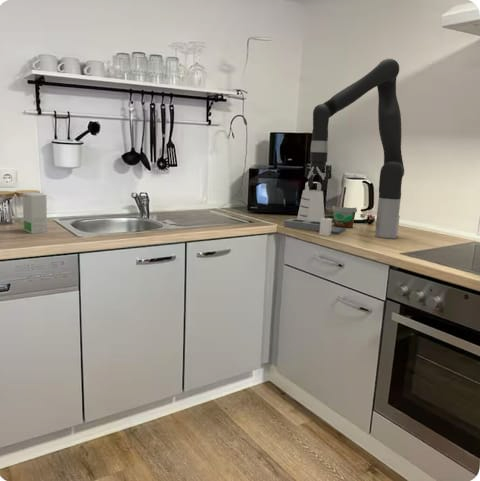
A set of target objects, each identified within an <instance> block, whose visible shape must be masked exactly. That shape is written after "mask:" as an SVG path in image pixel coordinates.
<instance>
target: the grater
mask: <svg viewBox="0 0 480 481" xmlns="http://www.w3.org/2000/svg"><path fill="white" fill-rule="evenodd" d="M313 184H316V189H310V187H308V181H306V182H305V186H304V189H303V190H302V194H301V198H300V202H299V209H298V213H297V218H296V219H301V220H309V221H318V222H320V221H321V219H322V218H326V217H325V206H324V205H325V204H324V191H322V183H321V182H318V181H313Z"/></svg>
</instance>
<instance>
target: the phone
mask: <svg viewBox="0 0 480 481" xmlns="http://www.w3.org/2000/svg"><path fill="white" fill-rule="evenodd" d="M346 229H347V228H339V227H335V226H331V234H330V235H340V234H341V233H344V232H345V231H346Z"/></svg>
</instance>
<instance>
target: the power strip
mask: <svg viewBox="0 0 480 481" xmlns="http://www.w3.org/2000/svg"><path fill="white" fill-rule="evenodd" d="M283 227H284V228H289V229H297V230H306V231H312V232H314V231H315V232H320V222H318V221H309V220H301V219H297V218H289V219H285V220H284V221H283Z"/></svg>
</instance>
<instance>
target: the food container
mask: <svg viewBox="0 0 480 481" xmlns="http://www.w3.org/2000/svg"><path fill="white" fill-rule="evenodd" d="M331 210H332V211H333V216H332V217H333V227H338V228H346V229H353V226H354V221H355V217H356V213H357V212H358V209H357V207H340V206H335V205H333V206H332V209H331Z"/></svg>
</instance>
